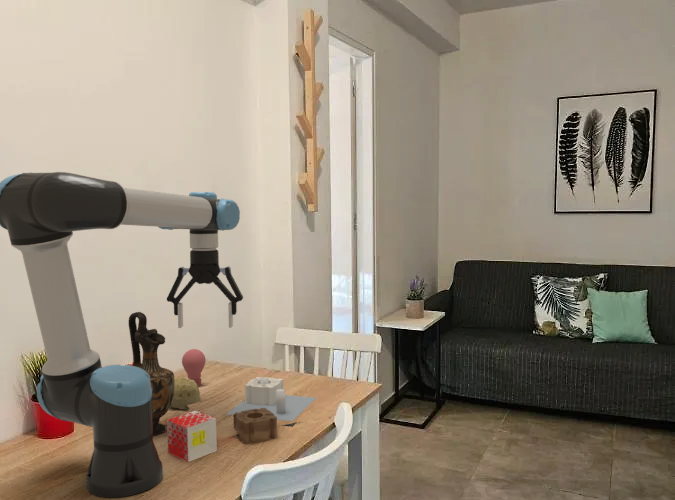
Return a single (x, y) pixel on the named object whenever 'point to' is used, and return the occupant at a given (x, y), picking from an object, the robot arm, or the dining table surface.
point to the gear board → (289, 404)
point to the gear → (262, 391)
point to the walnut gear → (255, 425)
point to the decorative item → (184, 393)
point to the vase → (152, 367)
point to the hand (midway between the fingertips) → (205, 326)
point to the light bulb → (194, 364)
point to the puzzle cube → (191, 435)
